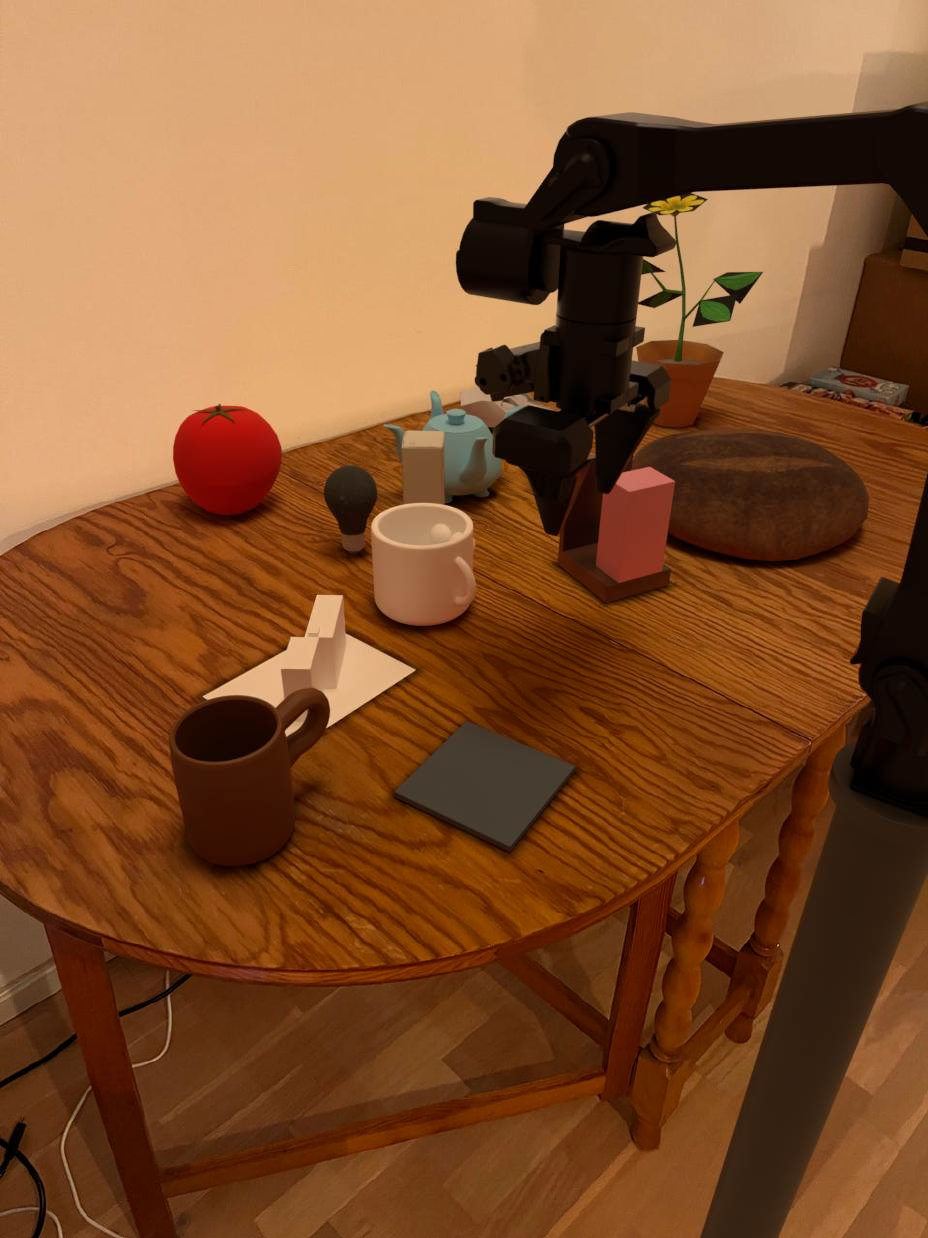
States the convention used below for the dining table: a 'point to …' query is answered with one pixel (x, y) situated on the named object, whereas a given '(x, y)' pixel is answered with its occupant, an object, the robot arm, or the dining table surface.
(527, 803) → the mat
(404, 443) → the box
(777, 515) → the bread
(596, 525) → the dark brown bookend
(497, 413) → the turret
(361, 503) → the light bulb
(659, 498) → the block
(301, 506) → the dining table surface
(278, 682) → the napkin holder
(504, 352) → the robot arm
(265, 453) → the tomato
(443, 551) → the mug
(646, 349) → the potted plant
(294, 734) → the mug
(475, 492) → the teapot
